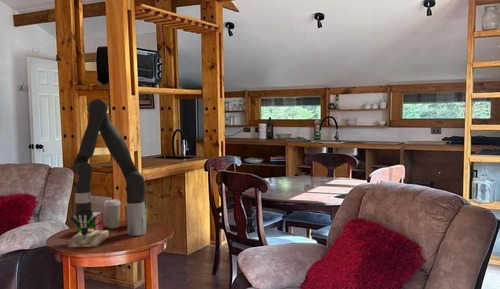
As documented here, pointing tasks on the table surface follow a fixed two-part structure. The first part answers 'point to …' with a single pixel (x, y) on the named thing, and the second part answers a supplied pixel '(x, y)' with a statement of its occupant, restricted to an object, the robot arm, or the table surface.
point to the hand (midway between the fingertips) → (84, 234)
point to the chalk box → (126, 214)
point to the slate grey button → (80, 237)
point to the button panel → (89, 239)
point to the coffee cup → (112, 213)
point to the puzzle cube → (95, 222)
